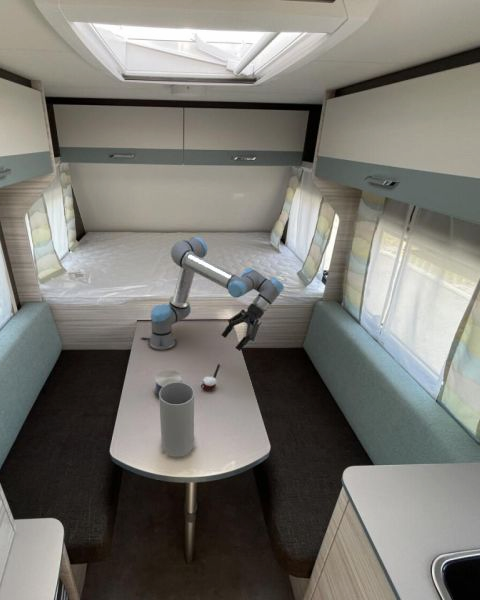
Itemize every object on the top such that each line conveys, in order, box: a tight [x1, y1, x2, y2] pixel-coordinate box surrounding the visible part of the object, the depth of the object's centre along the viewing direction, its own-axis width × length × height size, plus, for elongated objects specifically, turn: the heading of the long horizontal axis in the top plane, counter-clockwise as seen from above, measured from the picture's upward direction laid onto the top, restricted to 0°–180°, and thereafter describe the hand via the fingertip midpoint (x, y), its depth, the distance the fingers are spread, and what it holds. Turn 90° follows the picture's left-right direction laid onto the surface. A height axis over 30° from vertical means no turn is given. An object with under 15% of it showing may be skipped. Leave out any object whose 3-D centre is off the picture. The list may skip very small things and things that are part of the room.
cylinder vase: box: [158, 381, 195, 458], centre depth 122 cm, size 12×12×25 cm
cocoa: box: [200, 363, 221, 392], centre depth 155 cm, size 10×6×12 cm, turn 96°
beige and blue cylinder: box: [154, 369, 183, 398], centre depth 153 cm, size 12×12×8 cm
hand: (230, 342), depth 153 cm, fingers open, 13 cm apart
